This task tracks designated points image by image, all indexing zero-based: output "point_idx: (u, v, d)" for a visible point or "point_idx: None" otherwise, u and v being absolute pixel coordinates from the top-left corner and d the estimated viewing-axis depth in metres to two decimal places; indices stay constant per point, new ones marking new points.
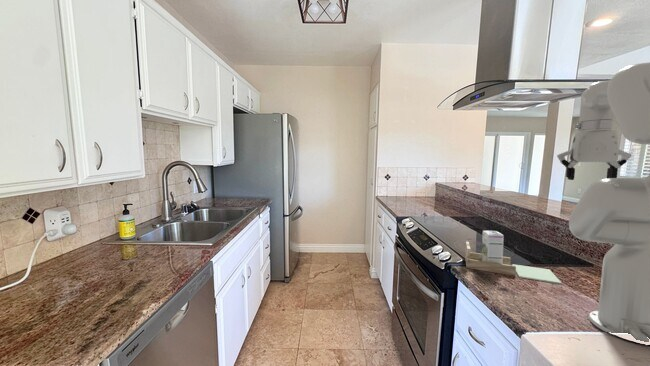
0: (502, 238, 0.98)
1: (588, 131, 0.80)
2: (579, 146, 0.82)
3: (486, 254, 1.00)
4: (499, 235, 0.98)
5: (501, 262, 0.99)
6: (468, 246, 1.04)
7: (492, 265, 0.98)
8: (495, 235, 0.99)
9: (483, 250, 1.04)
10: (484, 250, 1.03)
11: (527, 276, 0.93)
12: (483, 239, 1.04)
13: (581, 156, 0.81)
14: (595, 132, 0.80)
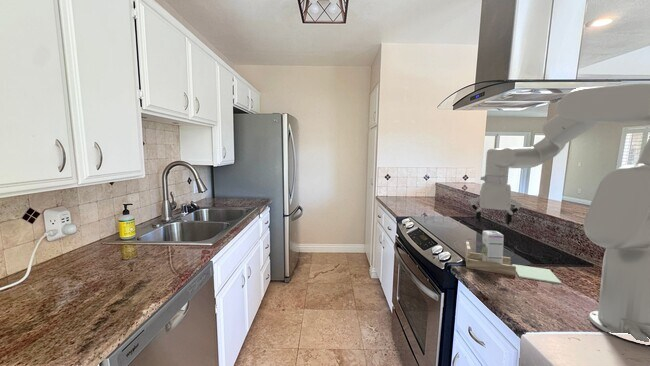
0: (502, 238, 0.98)
1: (489, 184, 0.98)
2: (483, 195, 1.00)
3: (486, 254, 1.00)
4: (499, 235, 0.99)
5: (501, 262, 0.99)
6: (468, 246, 1.04)
7: (492, 265, 0.98)
8: (495, 235, 0.99)
9: (483, 250, 1.04)
10: (484, 250, 1.03)
11: (527, 276, 0.93)
12: (483, 239, 1.04)
13: (484, 203, 1.00)
14: (494, 185, 0.98)
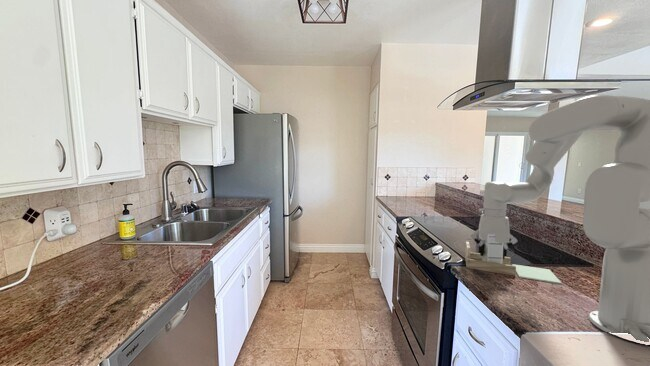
0: None
1: (488, 217, 0.99)
2: (482, 228, 1.01)
3: (486, 254, 1.00)
4: None
5: (501, 262, 0.99)
6: (468, 246, 1.04)
7: (492, 265, 0.98)
8: (495, 235, 0.99)
9: (483, 250, 1.04)
10: (484, 250, 1.03)
11: (527, 276, 0.93)
12: None
13: (483, 236, 1.01)
14: (493, 218, 0.99)
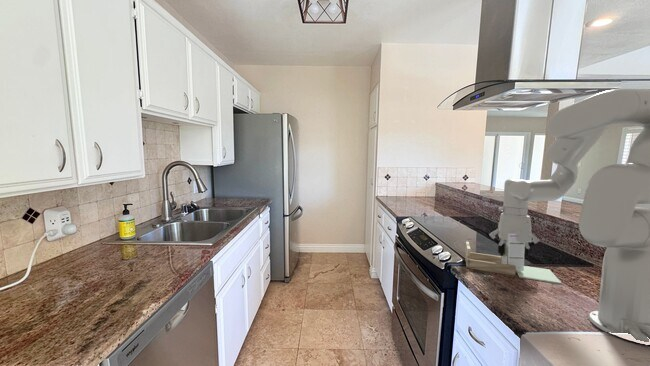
0: None
1: (508, 215, 0.96)
2: (502, 227, 0.97)
3: (507, 254, 0.97)
4: None
5: (522, 262, 0.96)
6: (468, 246, 1.04)
7: (492, 265, 0.98)
8: (516, 234, 0.96)
9: (503, 250, 1.00)
10: (504, 250, 0.99)
11: (527, 276, 0.93)
12: None
13: (504, 235, 0.97)
14: (514, 217, 0.96)
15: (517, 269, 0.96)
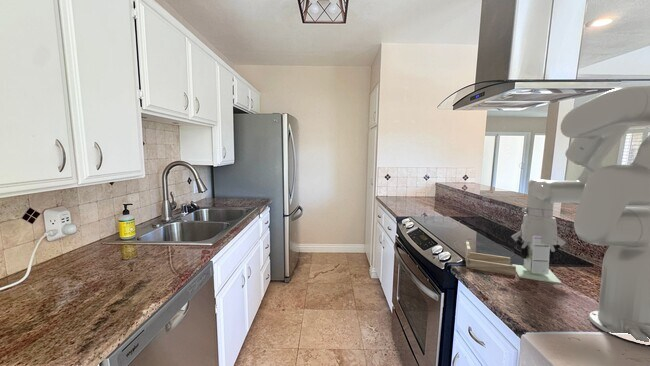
0: None
1: (533, 217, 0.93)
2: (526, 229, 0.94)
3: (531, 257, 0.94)
4: None
5: (547, 265, 0.93)
6: (468, 246, 1.04)
7: (492, 265, 0.98)
8: None
9: None
10: (527, 253, 0.96)
11: (527, 276, 0.93)
12: None
13: (527, 238, 0.94)
14: (538, 218, 0.92)
15: (541, 272, 0.93)
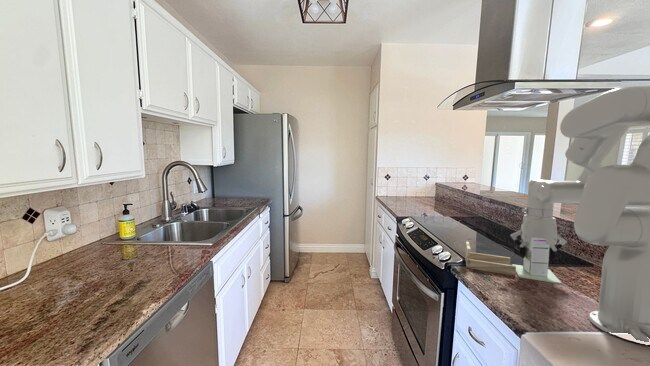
0: None
1: (533, 217, 0.93)
2: (526, 229, 0.94)
3: (530, 259, 0.94)
4: (545, 239, 0.92)
5: (546, 267, 0.93)
6: (468, 246, 1.04)
7: (492, 265, 0.98)
8: (540, 239, 0.92)
9: (525, 254, 0.97)
10: (526, 254, 0.96)
11: (527, 276, 0.93)
12: None
13: (527, 238, 0.94)
14: (538, 219, 0.92)
15: (540, 274, 0.93)
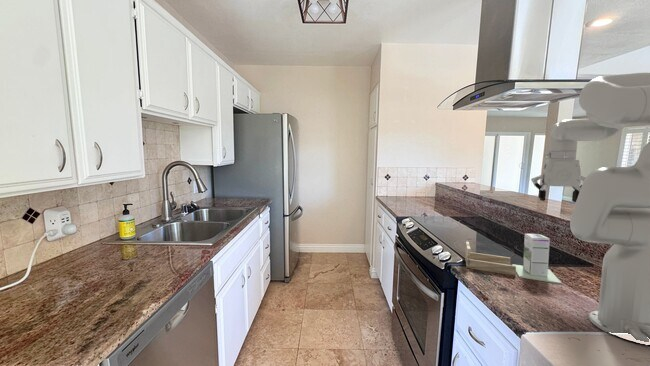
0: (548, 242, 0.92)
1: (556, 160, 0.94)
2: (549, 172, 0.95)
3: (530, 259, 0.94)
4: (545, 239, 0.92)
5: (546, 267, 0.93)
6: (468, 246, 1.04)
7: (492, 265, 0.98)
8: (540, 239, 0.92)
9: (525, 254, 0.97)
10: (526, 255, 0.97)
11: (527, 276, 0.93)
12: (525, 243, 0.97)
13: (550, 181, 0.95)
14: (562, 161, 0.93)
15: (540, 274, 0.93)
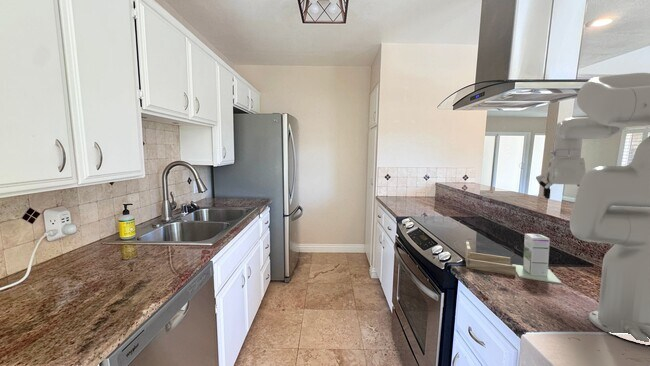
0: (548, 242, 0.92)
1: (561, 158, 0.94)
2: (553, 170, 0.96)
3: (530, 259, 0.94)
4: (545, 239, 0.92)
5: (546, 267, 0.93)
6: (468, 246, 1.04)
7: (492, 265, 0.98)
8: (540, 239, 0.92)
9: (525, 254, 0.97)
10: (526, 255, 0.97)
11: (527, 276, 0.93)
12: (525, 243, 0.97)
13: (555, 179, 0.96)
14: (567, 159, 0.94)
15: (540, 274, 0.93)
